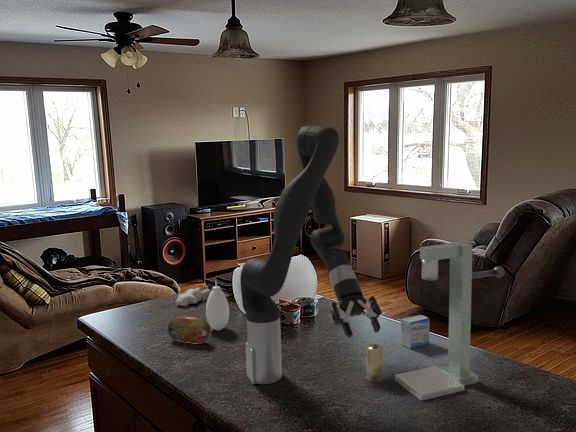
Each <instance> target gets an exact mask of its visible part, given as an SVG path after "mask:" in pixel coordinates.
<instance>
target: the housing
mask: <svg viewBox="0 0 576 432" xmlns="http://www.w3.org/2000/svg"><path fill="white" fill-rule="evenodd" d="M365 353H366V354H365V363H366V364H365V368H366V369H365V373H366V375H365V376H366V377H365V378H366V380H367V382H371V383H380V382H383V380H384V347H383V345H381V344H378V343H370V344H367V345H366V346H365Z"/></svg>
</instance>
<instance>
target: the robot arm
mask: <svg viewBox="0 0 576 432" xmlns="http://www.w3.org/2000/svg"><path fill="white" fill-rule="evenodd" d="M339 138H340V137H339V133H338V131H337V130H336V128H334V127H332V126H326V125H325V126H324V125H323V126H322V125H304V126H302V127H300V129H299V131H298V133H297V138H296V145H297V146H296V147H297V151H298V156H299V159H300V162H301V165H302V168H303V170H302V171H301V172H300V173H299V174H298V175H297V176H296V177H294V178H293V179H292V180H291V181H290V182H289V183H288V184H287V185H286V186H285V187H284V188H283V189H282V191H281V193H280V195H279V198H278V200H277V202H276V205H275V206H274V210H273V212H272V213H273V216H272V222H273V223H272V224H273V231H274V232H273V233H274V234H273V235H274V240H273V244H272V247H271V251H270V253H269V256H268V257H267V259H262V258H257V257H256V258H255V257H254V258H250V259H248V260H246V261H245V263H244V265H242V269H241V271H240V280H239V281H240V290H241V291H240V292H241V302H242V303H241V304H242V307H243V310H244V312H245V316H246V317H245V318H246V319H245V321H246V339H247V340H246V341H247V342H245V347H244V349H245V363H246V364H245V365H246V367H245V368H246V369H245V370H246V376H247V378H248V379H249V381H250V382H251V384H252V385H256V384H259V385H269V384H274V383H276V382H278V381H280V380H281V379H282V377H283V366H282V360H283V359H282V339H281V338H282V337H281V335H282V333H281V313H280V312H281V309H280V306H279V305H278V304H277V303H276V302H275V301H274V300H273V299H272V297H274V296H277V294H279V293H280V291H281V290H282V289H283V287H284V284H285V281H286V279H287V275H288V272H289V268H290V265H291V262H292V259H293V255H294V251H295V249H296V246H297V243H298V241H299V237H300V235H301V233H302V229H303V227H304V225H305V222H306V221H307V218H308V215H309V213H310V210H311V209H312V215H313V220H314V222H315V223H317V224H320V225H330V226H327V227H323V228H318V229H315V230H313V231H312V232H311V235H310V238H309V239H310V243H311V246H312V247H313V249H314V250H315V252H316V253H317V255H319V257H320V258H321V260H322V262H323V263H324V265H325V267H326V271H327V273H328V276H329V279H330V280H329V281H330V284H331V286H332V288H333V291H334V294H335V296H336V297H335V298H336V300H337V301H338V302H337V303H336V302H335V301H333V302H331V304H330V306H329V310H330V314H331V317H332V321H333V324H334V325H335V326H339V325H340V326H341V327H342V329H343V332H344V335H345V336H346V337H347V338H348V339H349V338H352V337H353V335H354V334H353V331H352V328H351V325H350V323H349V322H348V320H349V317H355V316H363V317H365V318H367V319H369V320H370V323H371V327H372V329H373V331H374V333H376V334H377V333H379V332H380V329H381V324H380V322H379V320H378V318H379V317H380V316H381V315H382V310H381V307H380V306H379V304H378V302H377V300H376V297H375V296H373V295H371V296H370V297H368V298H365V297H364V294H363V291H362V288H361V286H360V284H359V282H358V279H357V276H356V274H355V271H354V270H353V267H352V266H351V263H350V261H349V259H348V256H347V254H346V252H344V251H343V250H338V249H337V248H341V247H342V246H343V245H344V243H345V239H346V237H345V234H344V230H343V229H342V227H341V225H340V222H339V219H338V216H337V210H336V200H335V199H336V198H335V195H334V192H333V189H332V187H331V186H330V184H329V183H328V181H327V179H326V177H325V175H326V172H327V170H328V169H329V167H330V165H331V163H332V161H333V159H334V158H335V155H336V153H337V150H338V148H339V142H340V140H339ZM334 249H335V250H334ZM336 249H337V250H336ZM339 309H340V310H341V311H342V312H343V315H342V317H341V315H340V313H339Z"/></svg>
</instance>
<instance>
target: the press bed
mask: <svg viewBox="0 0 576 432" xmlns="http://www.w3.org/2000/svg"><path fill="white" fill-rule="evenodd" d="M473 248H474V247H473V244H471V243H468V242H463V241H453V242H452V241H451V242H450V243H446V244H445V243H444V244H442V243H441V244H433V245H427V246H420V247H419V259H420V260H421V279H422V280H424V281H425V280H426V281H437V280H438V279H439V260H445V259H447V260H448V259H449V285H448V286H449V287H448V288H449V296H448V301H449V302H448V348H447V349H448V350H447V353H448V354H447V355H448V356H447V358H448V359H447V361H448V362H447V365H445V366H440V367H438V366H436V365H434V366H431V367H425V368H420V369H416V370H412V371H406V372H402V373H397V374H395V375H394V381H396V382H397V383H398V384H399V385H401V386H402V388H404V389H405V390H407V391H408V392H409V393H411V394H412V395H414V396H415V397H416V398H417V399H418V400H420V401H425V400H426V401H427V400H431V399H434V398H439V397H442V396H448V395H451V394H454V393H455V394H456V393H458V392H462V391H463V392H464V391H465V386H469V385H473V384H477V383H478V382H479V375H478V374H476V373H475V372H473V371H471V370H470V367H471V365H470V363H471V360H470V359H471V327H472V324H471V323H472V322H471V321H472V283H473V282H472V281H473V280H474V279H481V278H486V277H494V276H495V277H496V278H502V277H503V276H505V274H506V271H505V268H503V267H502V266H499V265H498V266H495V267H493V268H492V269H488V270H483V271H476V272H475V271H474V272H473Z"/></svg>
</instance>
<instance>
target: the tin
mask: <svg viewBox="0 0 576 432" xmlns="http://www.w3.org/2000/svg"><path fill="white" fill-rule="evenodd" d="M167 327H168V329H167V330H168V335H169V336H170V338H171V339H172V340H173V341H174V342H176V341H175V340H179V341H184V342H191V343H198V344H201V345H203V344H204V343H206V342H207V341H209V339H210V337H211V326H210V325H209V323H208V321H207V320H206V319H203V318H200V317H190V316H183V315H181V316H177V317H175V318H172V319H171V320H170V321H169V323H168V326H167Z"/></svg>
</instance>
